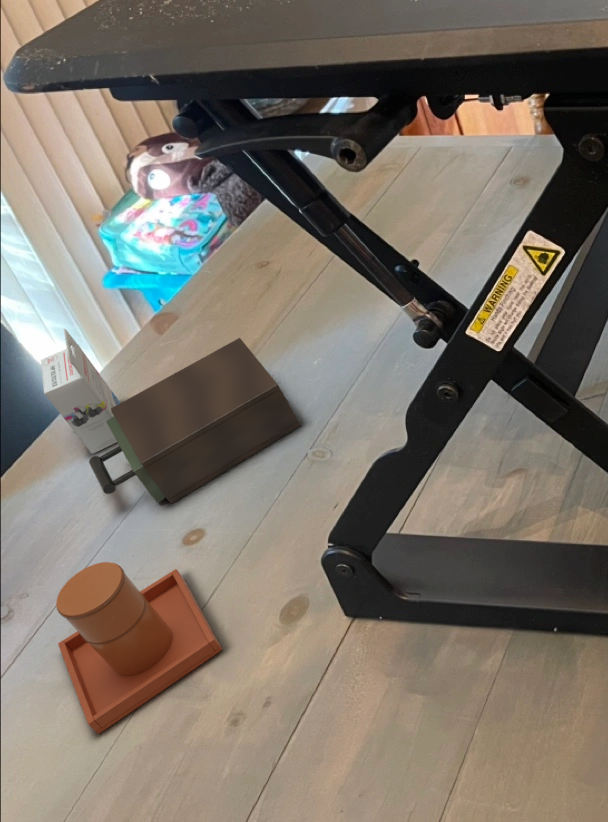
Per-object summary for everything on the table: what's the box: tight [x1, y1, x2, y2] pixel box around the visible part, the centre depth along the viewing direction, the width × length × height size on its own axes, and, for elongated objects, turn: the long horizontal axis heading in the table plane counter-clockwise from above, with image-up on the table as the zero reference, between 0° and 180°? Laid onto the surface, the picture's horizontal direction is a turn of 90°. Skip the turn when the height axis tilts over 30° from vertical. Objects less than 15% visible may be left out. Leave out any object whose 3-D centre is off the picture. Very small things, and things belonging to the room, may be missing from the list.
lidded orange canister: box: [55, 561, 172, 676], centre depth 111 cm, size 7×7×11 cm
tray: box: [57, 568, 223, 735], centre depth 114 cm, size 13×13×2 cm
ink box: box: [40, 328, 121, 454], centre depth 141 cm, size 8×5×15 cm, turn 31°
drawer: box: [88, 416, 167, 503], centre depth 136 cm, size 21×13×6 cm, turn 130°
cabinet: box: [111, 337, 302, 504], centre depth 138 cm, size 18×14×8 cm
